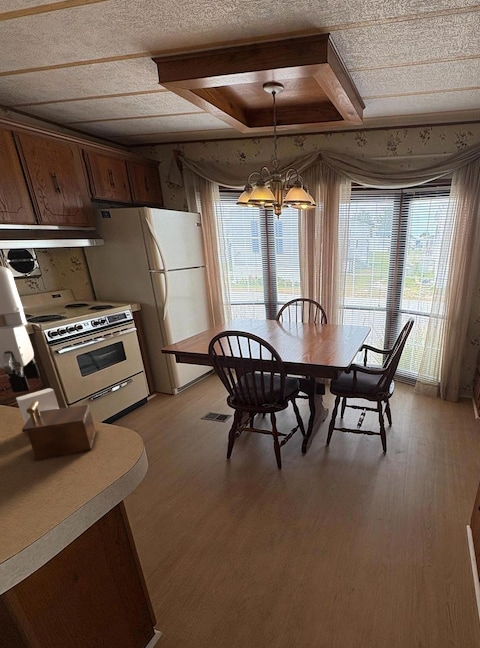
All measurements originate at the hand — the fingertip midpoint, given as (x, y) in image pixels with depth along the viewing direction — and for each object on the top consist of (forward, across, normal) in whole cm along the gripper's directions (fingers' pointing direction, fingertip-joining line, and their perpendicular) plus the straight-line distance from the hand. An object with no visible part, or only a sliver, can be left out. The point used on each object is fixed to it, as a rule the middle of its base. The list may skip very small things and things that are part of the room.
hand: (27, 384), depth 90 cm
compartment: (+20, 0, +4) cm, 20 cm away
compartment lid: (+11, 0, +4) cm, 12 cm away
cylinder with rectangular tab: (+20, -14, -3) cm, 25 cm away
